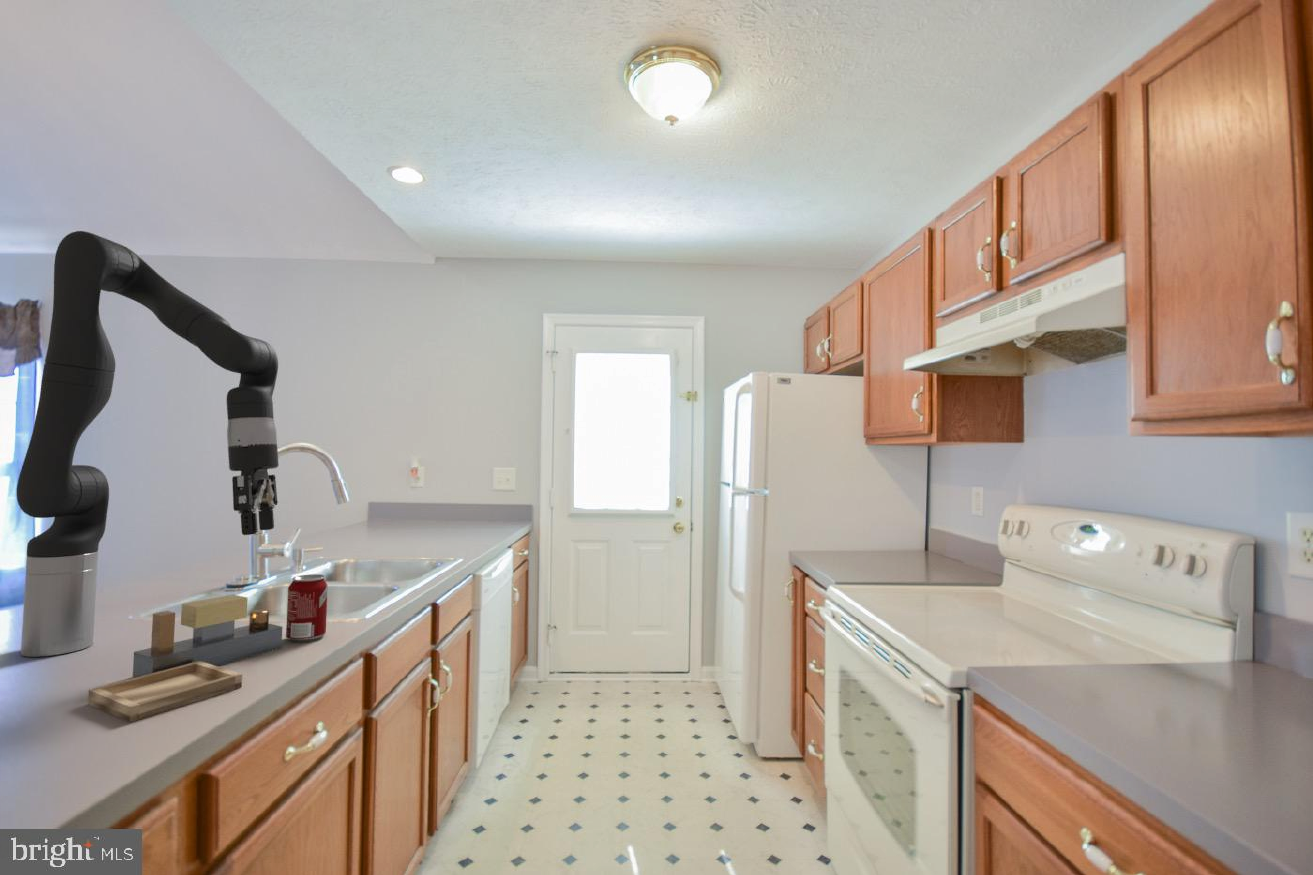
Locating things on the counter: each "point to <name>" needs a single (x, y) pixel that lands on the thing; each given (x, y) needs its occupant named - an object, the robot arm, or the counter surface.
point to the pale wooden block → (213, 611)
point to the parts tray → (163, 690)
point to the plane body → (206, 643)
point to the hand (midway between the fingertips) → (258, 532)
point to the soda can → (306, 608)
